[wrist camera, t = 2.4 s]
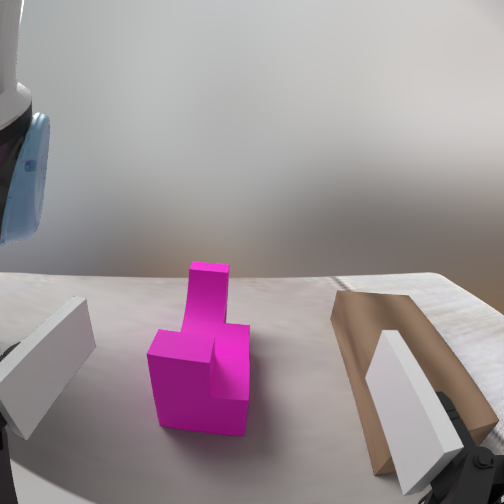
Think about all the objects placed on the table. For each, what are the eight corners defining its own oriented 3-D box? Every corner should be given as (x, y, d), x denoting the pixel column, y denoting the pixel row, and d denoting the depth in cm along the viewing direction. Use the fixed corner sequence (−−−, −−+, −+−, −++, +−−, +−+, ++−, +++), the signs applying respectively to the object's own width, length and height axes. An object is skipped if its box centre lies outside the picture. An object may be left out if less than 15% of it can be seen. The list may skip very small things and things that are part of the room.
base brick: (374, 475, 14) (398, 446, 13) (330, 318, 35) (337, 290, 34) (473, 451, 14) (499, 420, 13) (399, 322, 35) (408, 295, 34)
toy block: (243, 437, 18) (253, 366, 16) (160, 427, 18) (146, 353, 16) (247, 328, 33) (254, 267, 30) (192, 322, 32) (193, 261, 30)
